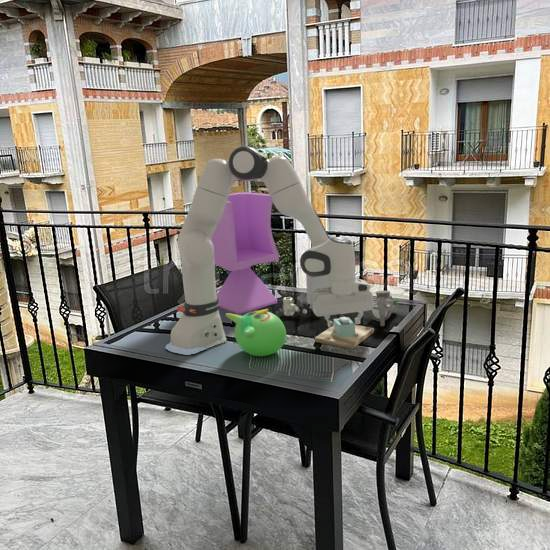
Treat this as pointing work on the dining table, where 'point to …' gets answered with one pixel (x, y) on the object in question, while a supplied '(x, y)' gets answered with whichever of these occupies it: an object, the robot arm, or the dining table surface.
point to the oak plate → (346, 342)
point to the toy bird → (259, 332)
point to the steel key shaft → (344, 320)
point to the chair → (244, 251)
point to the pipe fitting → (374, 312)
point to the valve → (295, 308)
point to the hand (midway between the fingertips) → (344, 325)
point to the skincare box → (315, 286)
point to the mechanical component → (384, 307)
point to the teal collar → (344, 328)
